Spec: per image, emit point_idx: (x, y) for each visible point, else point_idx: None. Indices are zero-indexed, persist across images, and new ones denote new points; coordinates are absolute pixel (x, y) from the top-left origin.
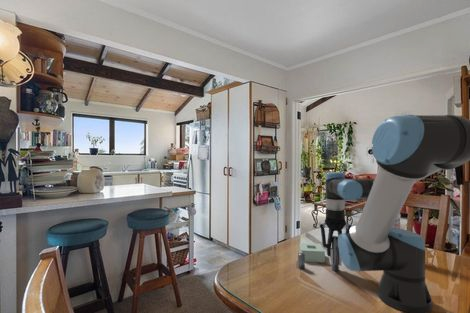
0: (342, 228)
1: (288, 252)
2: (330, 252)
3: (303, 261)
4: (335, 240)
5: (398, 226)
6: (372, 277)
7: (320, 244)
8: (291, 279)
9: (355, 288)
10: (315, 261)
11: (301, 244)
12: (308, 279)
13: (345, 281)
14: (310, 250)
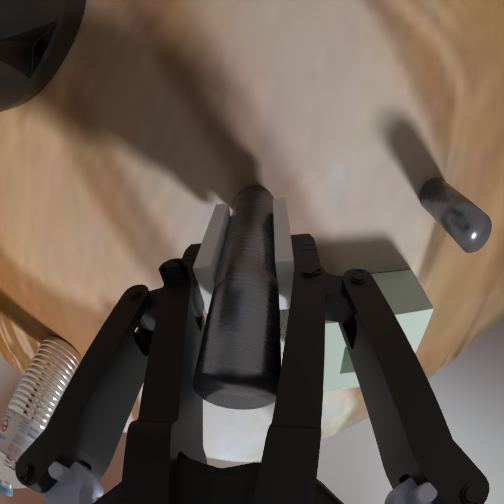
0: (118, 485)
1: (432, 333)
2: (293, 253)
3: (451, 197)
4: (240, 339)
5: (3, 420)
6: (82, 171)
7: None
8: (485, 68)
9: (170, 14)
10: None
11: None
12: (420, 63)
13: (212, 71)
14: None
